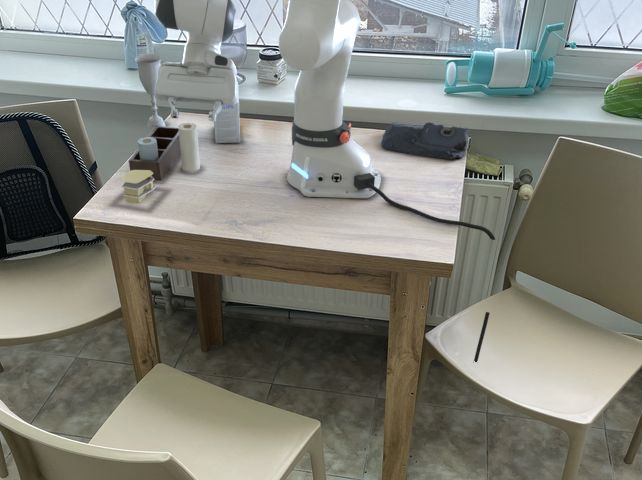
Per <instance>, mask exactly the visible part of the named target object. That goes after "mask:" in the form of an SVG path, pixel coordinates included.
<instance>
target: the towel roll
mask: <svg viewBox="0 0 642 480" xmlns="http://www.w3.org/2000/svg"><path fill="white" fill-rule="evenodd" d="M177 127H178V131H179V141H180V151H181V152H180V159H181V160H180V161H181V167H182V169H181V170H183V171H184V172H192V173H193V172H196V171H199V170H200V169H201V159H200V149H199V148H200V145H199V137H198V125H197V124H195V123H193V122H184V123H181V124H179V125H178V126H177Z"/></svg>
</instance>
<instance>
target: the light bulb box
mask: <svg viewBox="0 0 642 480" xmlns="http://www.w3.org/2000/svg"><path fill="white" fill-rule="evenodd" d="M215 107H216V105H215V104H212V111H213V110H214V109H215ZM240 123H241V122H240V100H239V98H238V102H237V103H236V104H235V105H223V106H222V109H221V111H220V112H219V113H218V114H217V116H216V121H213V126H214V127H213V128H214V139H215V144H236V143H238V144H240V143H241V125H240Z"/></svg>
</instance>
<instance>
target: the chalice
mask: <svg viewBox="0 0 642 480" xmlns="http://www.w3.org/2000/svg"><path fill="white" fill-rule="evenodd" d="M134 60H135V62H136V64H137V70H138V77H139V81H140V83H141V85H142V87H143V89H144V91H145V92H146V94H148V95H150V97H151V99H150V103H151V107H150V110H151V111H152V116H150V117H149V119H148V121H147V125H146V126H147V129H149V130H153V129H154V128H155V127H156V126H164V127H167V124H166V123H165V121H164V120H163V118H162V116H160V115H158V106H157V105H156V103H157V100H156V97H155V96H156V93H155V87H156V82H157V79H158V70H159V66H161V65H162V64H161V61H162V55H159V54H155V53H145V54H141V55H137V56H136V57H135V58H134Z"/></svg>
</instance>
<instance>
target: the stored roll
mask: <svg viewBox="0 0 642 480" xmlns="http://www.w3.org/2000/svg"><path fill="white" fill-rule="evenodd" d="M137 148H139V155H140V160H146V161H158V159H159V156H158V148H157V140H156V139H155V138H152V137H148V136H146V137H141V138H139V139H138V140H137Z"/></svg>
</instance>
